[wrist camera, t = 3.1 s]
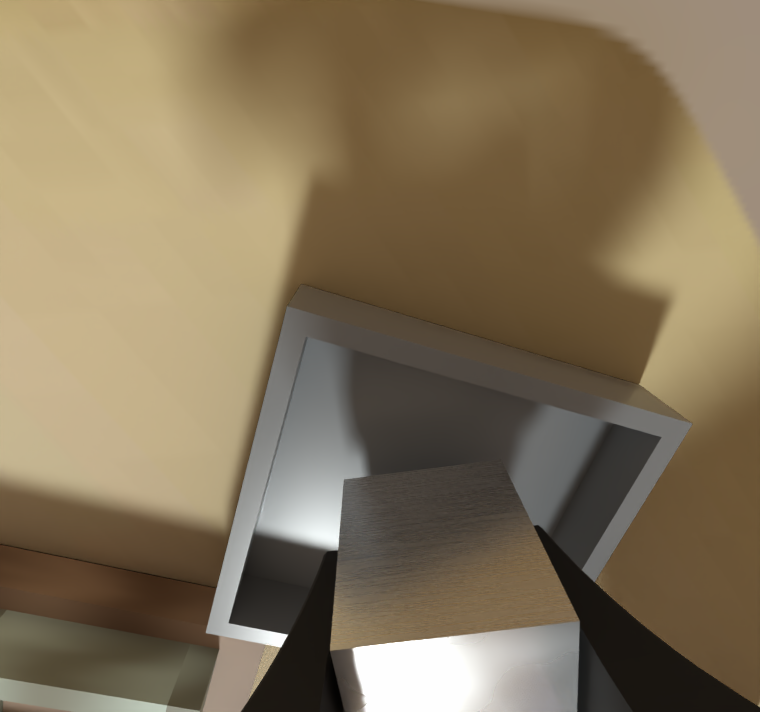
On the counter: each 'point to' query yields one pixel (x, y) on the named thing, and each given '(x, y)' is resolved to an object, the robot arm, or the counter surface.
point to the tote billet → (448, 598)
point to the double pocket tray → (113, 641)
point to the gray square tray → (424, 445)
